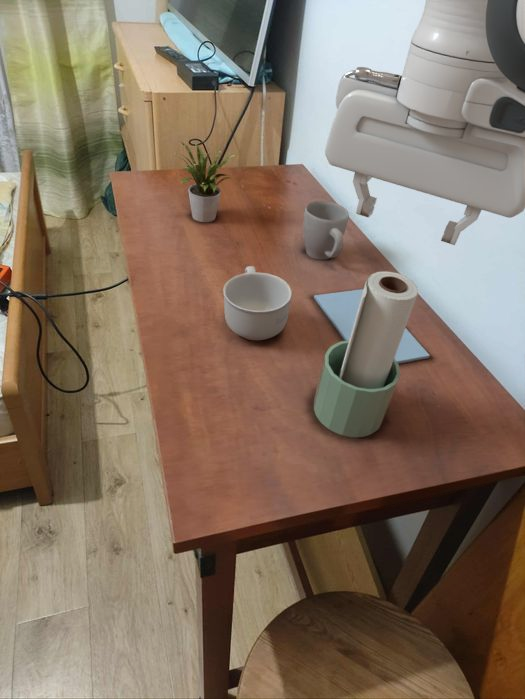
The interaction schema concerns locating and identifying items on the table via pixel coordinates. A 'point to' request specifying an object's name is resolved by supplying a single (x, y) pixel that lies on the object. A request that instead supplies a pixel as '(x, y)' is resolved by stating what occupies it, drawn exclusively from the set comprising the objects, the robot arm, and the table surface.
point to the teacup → (256, 304)
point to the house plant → (204, 185)
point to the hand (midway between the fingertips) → (405, 227)
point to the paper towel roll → (378, 329)
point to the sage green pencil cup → (350, 398)
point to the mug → (324, 229)
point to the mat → (343, 316)
